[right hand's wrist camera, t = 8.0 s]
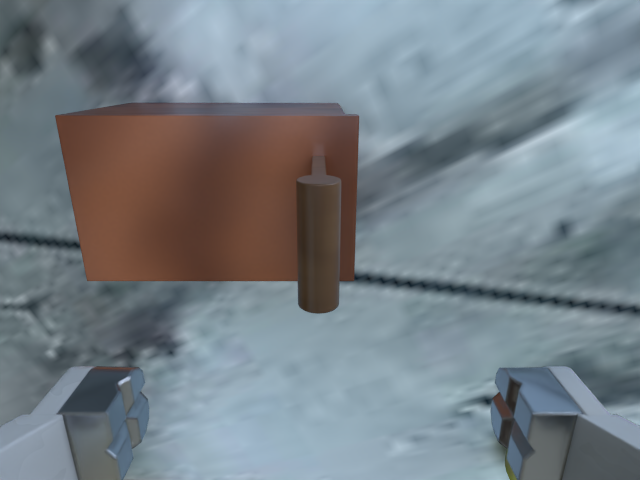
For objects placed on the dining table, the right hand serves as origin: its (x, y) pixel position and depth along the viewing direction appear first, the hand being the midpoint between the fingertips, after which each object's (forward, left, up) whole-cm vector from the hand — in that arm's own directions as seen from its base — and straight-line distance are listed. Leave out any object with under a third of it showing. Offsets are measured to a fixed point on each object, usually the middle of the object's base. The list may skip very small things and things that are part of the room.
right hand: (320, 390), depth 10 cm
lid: (+3, +5, -17) cm, 18 cm away
